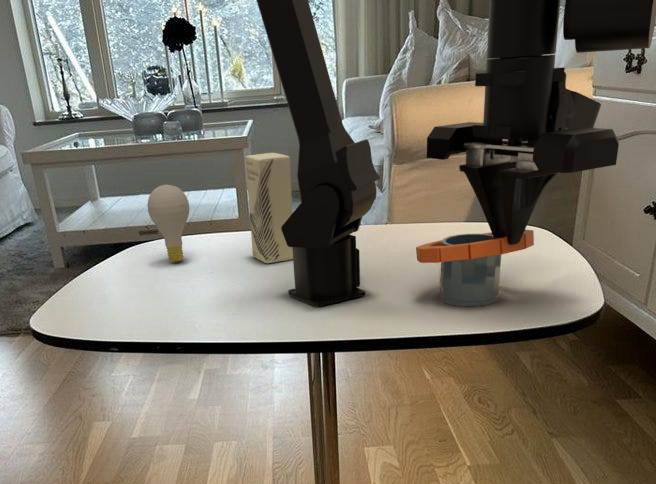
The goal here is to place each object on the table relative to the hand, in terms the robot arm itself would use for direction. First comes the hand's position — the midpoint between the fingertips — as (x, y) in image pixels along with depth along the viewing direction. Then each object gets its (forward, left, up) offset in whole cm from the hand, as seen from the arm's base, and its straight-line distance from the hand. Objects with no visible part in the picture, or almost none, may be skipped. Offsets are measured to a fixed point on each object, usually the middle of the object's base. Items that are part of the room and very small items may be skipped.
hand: (507, 242), depth 72 cm
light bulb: (-18, +44, -7) cm, 48 cm away
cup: (0, +5, -6) cm, 8 cm away
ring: (0, +5, -2) cm, 5 cm away
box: (-7, +36, -7) cm, 37 cm away
